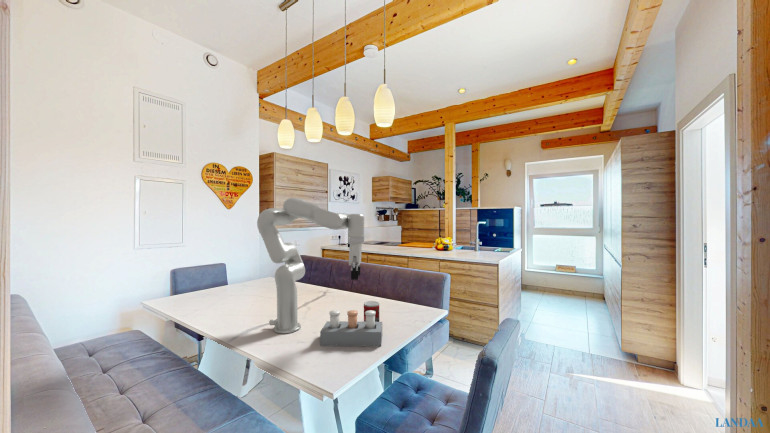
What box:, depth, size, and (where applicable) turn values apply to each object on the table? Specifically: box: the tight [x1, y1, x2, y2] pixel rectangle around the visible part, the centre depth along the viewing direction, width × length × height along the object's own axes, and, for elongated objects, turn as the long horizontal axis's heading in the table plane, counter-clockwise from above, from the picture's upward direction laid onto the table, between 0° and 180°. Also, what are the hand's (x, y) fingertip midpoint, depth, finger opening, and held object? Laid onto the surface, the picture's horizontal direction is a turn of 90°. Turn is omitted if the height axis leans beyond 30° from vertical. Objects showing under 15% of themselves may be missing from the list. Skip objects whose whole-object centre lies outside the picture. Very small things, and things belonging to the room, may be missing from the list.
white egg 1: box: [329, 309, 341, 329], centre depth 130 cm, size 5×5×8 cm
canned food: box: [363, 300, 380, 322], centre depth 148 cm, size 8×8×11 cm
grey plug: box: [365, 310, 376, 329], centre depth 130 cm, size 5×5×8 cm
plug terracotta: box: [347, 309, 359, 329], centre depth 130 cm, size 5×5×8 cm
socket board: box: [319, 320, 383, 347], centre depth 130 cm, size 26×12×6 cm, turn 88°
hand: (355, 277), depth 135 cm, fingers open, 9 cm apart
